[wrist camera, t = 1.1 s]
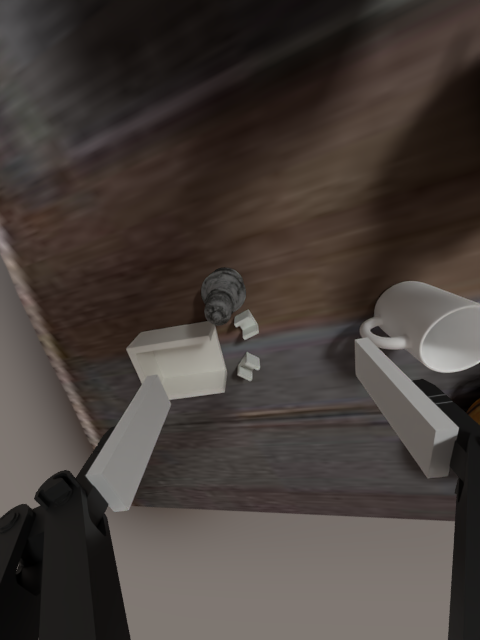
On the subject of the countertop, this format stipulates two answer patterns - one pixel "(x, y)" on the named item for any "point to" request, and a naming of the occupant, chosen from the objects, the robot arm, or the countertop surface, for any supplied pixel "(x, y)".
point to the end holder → (181, 359)
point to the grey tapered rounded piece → (222, 295)
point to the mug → (428, 326)
